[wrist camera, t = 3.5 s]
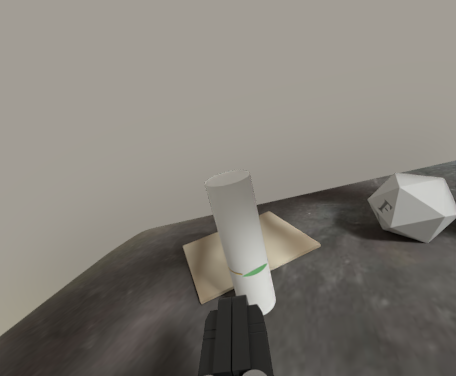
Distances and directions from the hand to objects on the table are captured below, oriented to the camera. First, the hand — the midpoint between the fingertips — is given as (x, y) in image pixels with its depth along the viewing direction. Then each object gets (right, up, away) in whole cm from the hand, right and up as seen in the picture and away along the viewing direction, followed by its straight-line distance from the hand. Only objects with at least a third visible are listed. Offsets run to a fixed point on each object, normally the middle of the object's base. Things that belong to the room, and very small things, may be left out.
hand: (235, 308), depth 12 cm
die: (+24, 0, +18) cm, 30 cm away
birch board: (+2, -3, +23) cm, 23 cm away
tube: (+3, -6, +13) cm, 15 cm away
